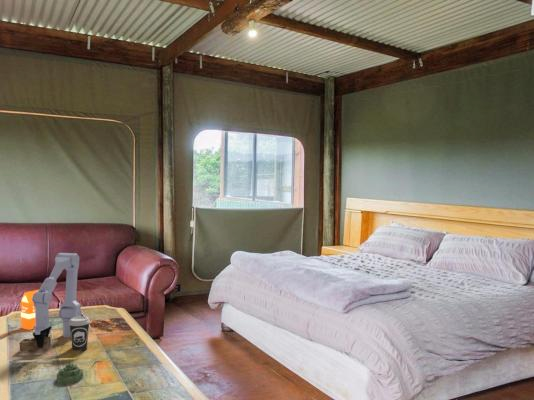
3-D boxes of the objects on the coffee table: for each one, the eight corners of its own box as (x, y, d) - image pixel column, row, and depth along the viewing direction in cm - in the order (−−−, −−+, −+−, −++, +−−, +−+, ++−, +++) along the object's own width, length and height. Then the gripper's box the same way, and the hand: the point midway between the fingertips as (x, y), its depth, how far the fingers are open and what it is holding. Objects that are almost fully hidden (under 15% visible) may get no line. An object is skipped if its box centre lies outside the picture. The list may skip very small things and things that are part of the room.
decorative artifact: (56, 376, 196) (56, 386, 187) (56, 359, 196) (56, 368, 186) (82, 372, 200) (83, 381, 191) (82, 356, 200) (83, 364, 190)
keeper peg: (32, 349, 223) (32, 338, 223) (31, 351, 221) (31, 339, 221) (28, 350, 223) (28, 338, 222) (27, 351, 221) (27, 339, 221)
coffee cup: (94, 347, 229) (94, 317, 228) (79, 354, 220) (78, 322, 219) (80, 344, 233) (79, 314, 232) (64, 351, 224) (64, 320, 224)
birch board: (58, 341, 237) (58, 339, 237) (46, 356, 217) (46, 354, 217) (31, 343, 235) (31, 341, 235) (16, 357, 215) (16, 355, 215)
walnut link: (50, 344, 226) (50, 336, 226) (47, 348, 220) (46, 340, 220) (24, 347, 224) (23, 338, 224) (20, 351, 219) (19, 342, 218)
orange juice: (44, 325, 263) (43, 290, 262) (28, 329, 256) (28, 293, 255) (36, 323, 267) (35, 288, 266) (20, 327, 260) (20, 291, 259)
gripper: (38, 312, 229) (38, 340, 229) (27, 321, 214) (28, 350, 215) (53, 312, 230) (53, 339, 230) (44, 320, 215) (44, 350, 216)
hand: (42, 345), depth 223 cm, fingers closed on walnut link, 5 cm apart
